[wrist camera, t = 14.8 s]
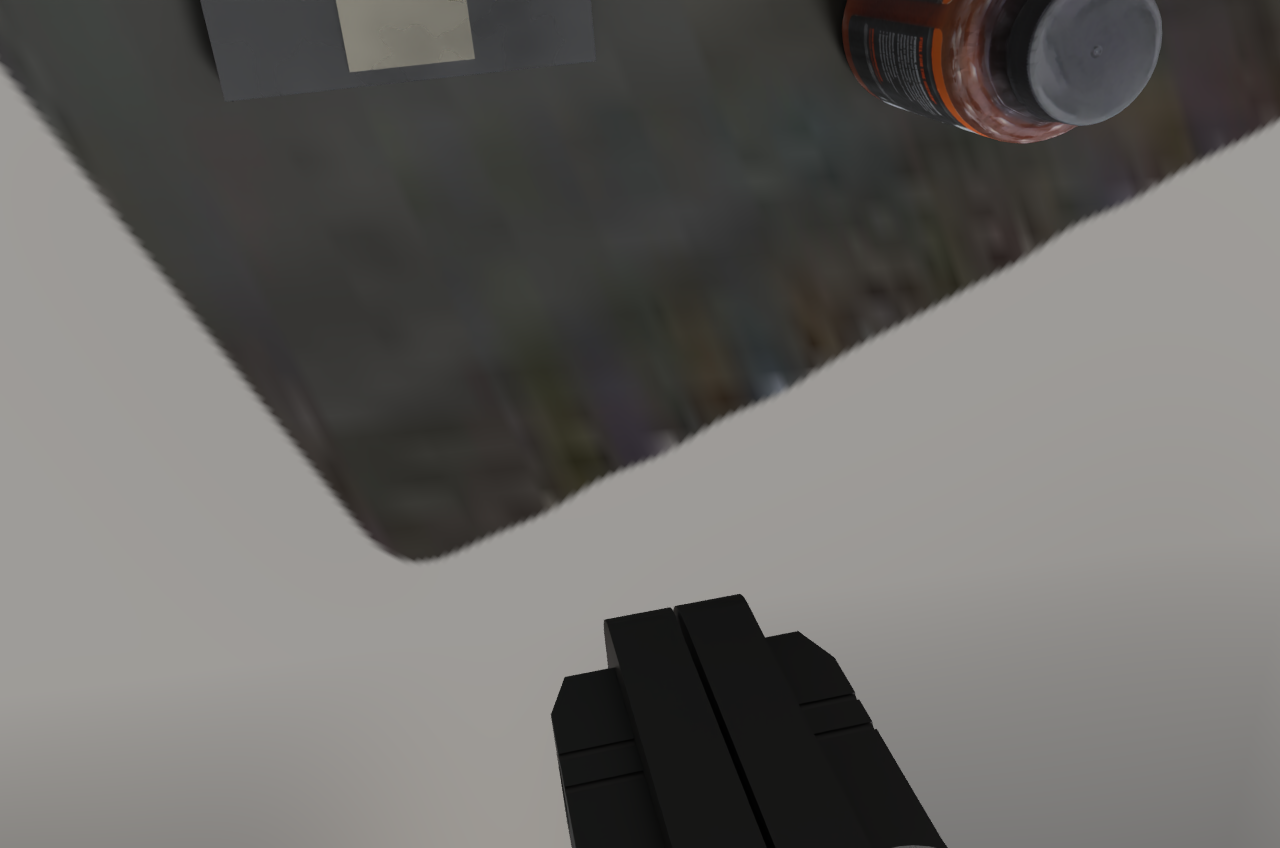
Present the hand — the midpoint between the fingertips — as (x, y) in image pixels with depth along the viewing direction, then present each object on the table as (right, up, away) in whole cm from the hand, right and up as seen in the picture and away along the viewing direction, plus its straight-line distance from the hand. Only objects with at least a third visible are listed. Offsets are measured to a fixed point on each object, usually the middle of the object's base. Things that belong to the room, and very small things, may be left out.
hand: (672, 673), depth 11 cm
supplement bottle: (+10, +17, +27) cm, 33 cm away
